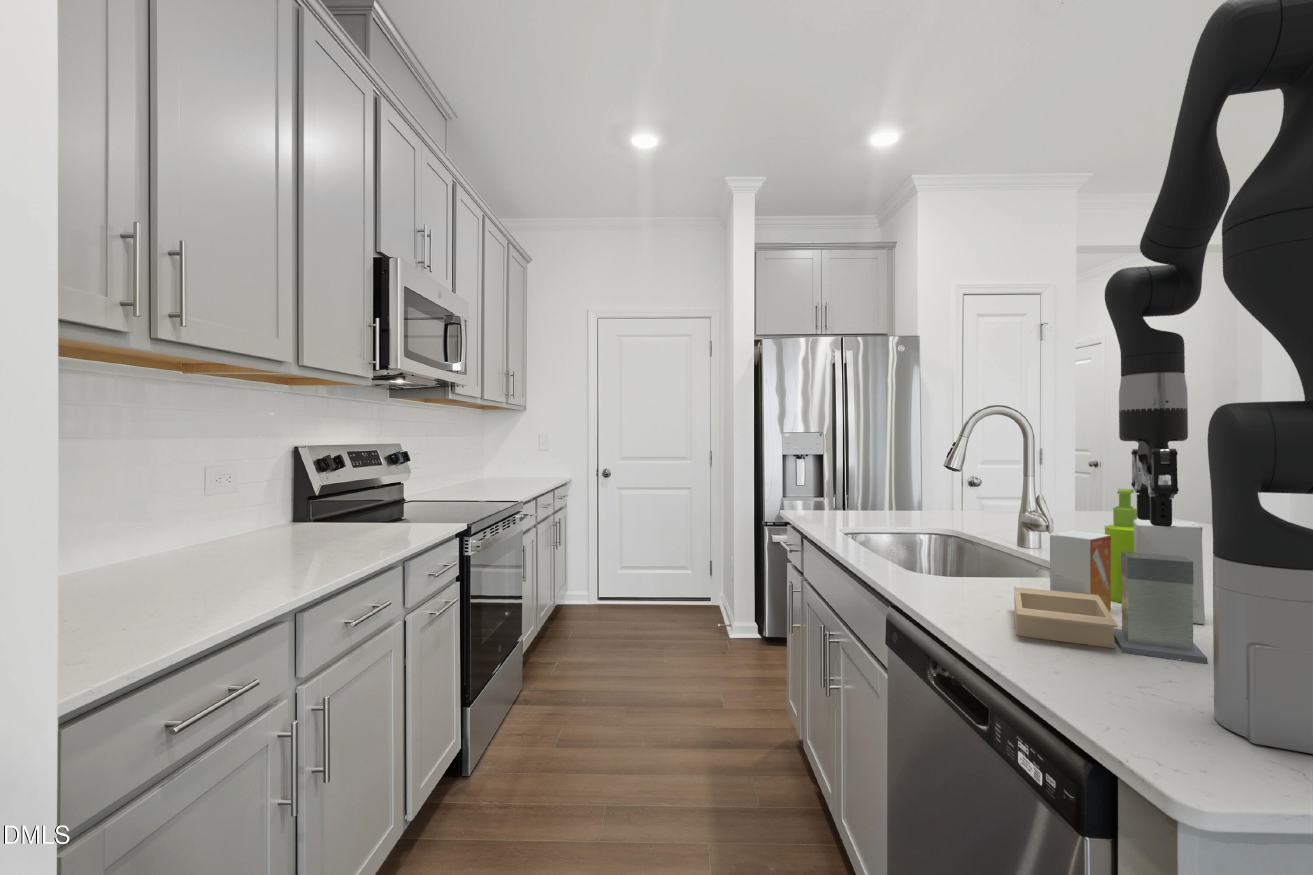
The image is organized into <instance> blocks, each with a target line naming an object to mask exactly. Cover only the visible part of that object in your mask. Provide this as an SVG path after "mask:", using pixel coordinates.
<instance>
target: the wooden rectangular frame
mask: <svg viewBox="0 0 1313 875" xmlns="http://www.w3.org/2000/svg"><path fill="white" fill-rule="evenodd" d="M1013 590H1014V592H1013V593H1014V594H1013V595H1014V596H1013V597H1014V622H1015V631H1016V636H1018V637H1025V638H1027V637H1028V638H1032V639H1033V638H1034V639H1035V638H1036V639H1041V640H1042V639H1043V640H1050V641H1058V642H1064V643H1065V642H1066V643H1071V644H1072V643H1074V644H1081V645H1089V646H1096V647H1102V648H1112V649H1115V640H1114V629H1119V625H1118V624H1117V622H1116V621H1115V619H1114V617H1113V616H1112V614H1111V613H1110V611H1108V609H1107V608H1106V606H1105V605H1104V603H1103V601H1102V600H1101V598H1100V597H1099V595H1092V594H1081V593H1071V592H1061V591H1050V589H1040V588H1038V589H1037V588H1028V587H1020V586H1019V587H1018V586H1013Z"/></svg>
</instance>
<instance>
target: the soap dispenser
mask: <svg viewBox="0 0 1313 875" xmlns="http://www.w3.org/2000/svg"><path fill="white" fill-rule="evenodd" d="M1116 492H1117V494H1118V505H1117V506H1114V507H1113V508H1112V511H1113V516H1112V518H1113V520H1112V521H1113V524H1110V525H1109V524H1108V525H1104V534H1106V535H1111V602H1114V603H1115V602H1116V603H1118V604H1119V603H1120V604H1122V573H1121V552H1132V553H1134V524H1133V520H1138V518H1137V507H1136V508H1135V507H1134V506H1132V504H1131V503H1132V498H1131V497H1132V494H1133V493H1135V491H1134V488H1118V489H1117V490H1116Z"/></svg>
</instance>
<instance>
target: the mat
mask: <svg viewBox="0 0 1313 875" xmlns="http://www.w3.org/2000/svg"><path fill="white" fill-rule="evenodd" d="M1114 643H1115V644H1116V645H1117V647H1118V648H1119V650H1120V652H1121V653H1125V654H1130V653H1133V654H1132V655H1138V654H1139V655H1140V654H1141V655H1140V656H1145V655H1149V656H1148V657H1153V656H1155V657H1154V658H1160V657H1166V658H1165V659H1168V658H1173V659H1172V660H1176V659H1181V660H1180V661H1183V660H1187V661H1186V662H1191V661H1195V662H1194V663H1198V662H1200V664H1207V665H1208V663H1209V662H1208V656H1207V655H1206V654H1204V652H1203V651H1202V650H1201V649H1200V647H1199V646H1197V645H1196V644H1195V643H1194V642H1193V651H1189V650H1181V649H1172V648H1164V647H1156V646H1148V645H1140V644H1132V643H1128V642H1127V640H1126V639H1125V637H1124V636H1123V634H1122V628H1121V629H1120V628H1114ZM1139 655H1138V656H1139Z"/></svg>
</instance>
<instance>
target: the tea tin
mask: <svg viewBox="0 0 1313 875" xmlns="http://www.w3.org/2000/svg"><path fill="white" fill-rule="evenodd" d="M1121 573H1122V603H1121V630H1122V634H1123V636H1124V637H1125V639H1126V640H1127V642H1128V643H1132V644H1140V645H1148V646H1156V647H1164V648H1172V649H1181V650H1189V651H1193V643H1194V623H1193V562H1192V561H1191V560H1189V559H1188V558H1186V557H1185V556H1177V555H1162V554H1147V553H1132V552H1121Z"/></svg>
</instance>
